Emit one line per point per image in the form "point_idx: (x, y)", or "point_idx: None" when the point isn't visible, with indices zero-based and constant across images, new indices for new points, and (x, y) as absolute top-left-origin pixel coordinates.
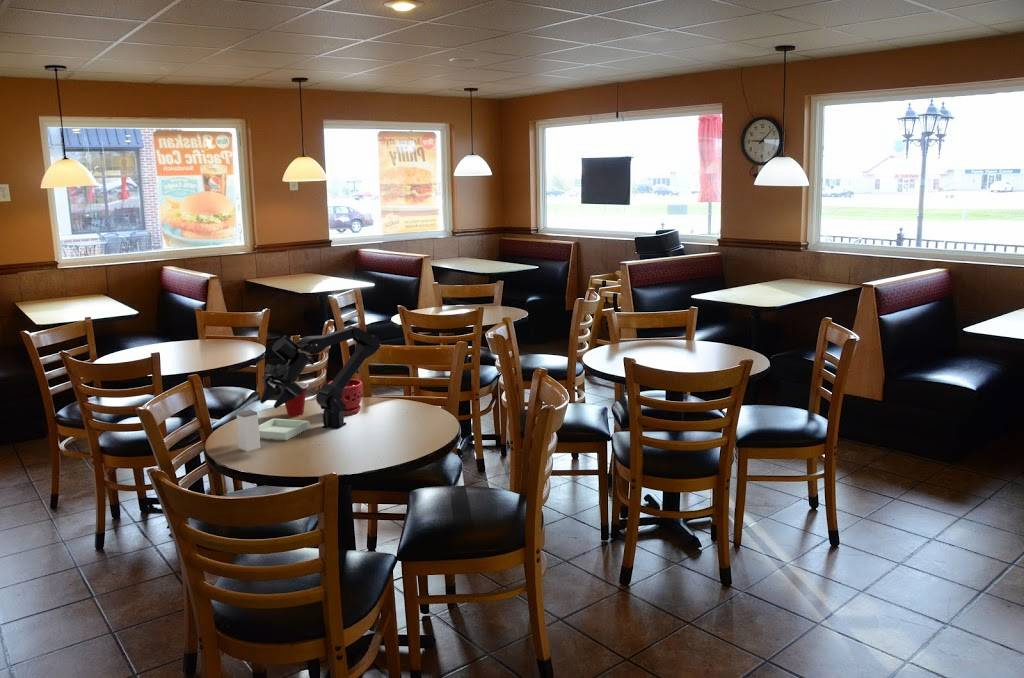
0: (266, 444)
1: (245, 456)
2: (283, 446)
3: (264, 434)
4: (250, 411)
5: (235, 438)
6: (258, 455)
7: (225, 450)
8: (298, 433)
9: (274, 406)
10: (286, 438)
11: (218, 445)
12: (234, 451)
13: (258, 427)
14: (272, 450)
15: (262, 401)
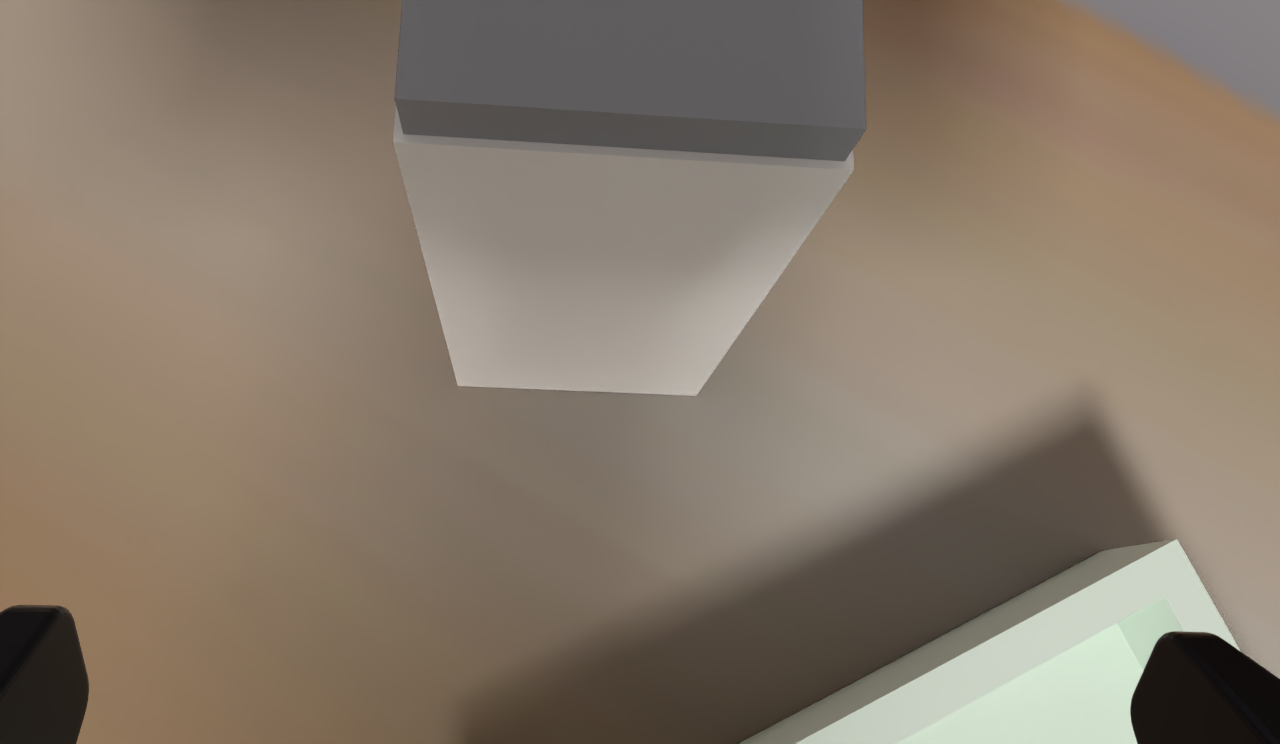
0: (548, 546)
1: (273, 34)
2: (198, 680)
3: (866, 690)
4: (650, 22)
5: (1227, 393)
6: (143, 169)
7: None
8: None
9: (3, 630)
10: None
11: (1071, 70)
12: None
13: (427, 267)
14: (170, 437)
15: (1181, 727)
